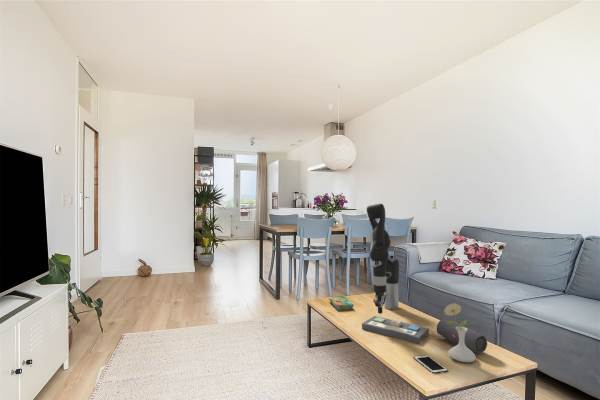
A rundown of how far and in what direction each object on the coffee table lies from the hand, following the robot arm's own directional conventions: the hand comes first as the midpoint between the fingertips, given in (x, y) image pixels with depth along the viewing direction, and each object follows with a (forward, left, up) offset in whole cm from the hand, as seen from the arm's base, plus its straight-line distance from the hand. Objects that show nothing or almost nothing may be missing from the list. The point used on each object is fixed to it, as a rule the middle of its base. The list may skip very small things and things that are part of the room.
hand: (380, 313), depth 188 cm
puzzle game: (-18, -38, -8) cm, 43 cm away
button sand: (0, +10, -6) cm, 11 cm away
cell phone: (+28, +37, -8) cm, 47 cm away
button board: (+2, +10, -7) cm, 12 cm away
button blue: (0, +20, -7) cm, 21 cm away
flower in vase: (+14, +46, -8) cm, 48 cm away
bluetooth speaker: (0, +43, -8) cm, 43 cm away
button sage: (0, 0, -7) cm, 7 cm away
